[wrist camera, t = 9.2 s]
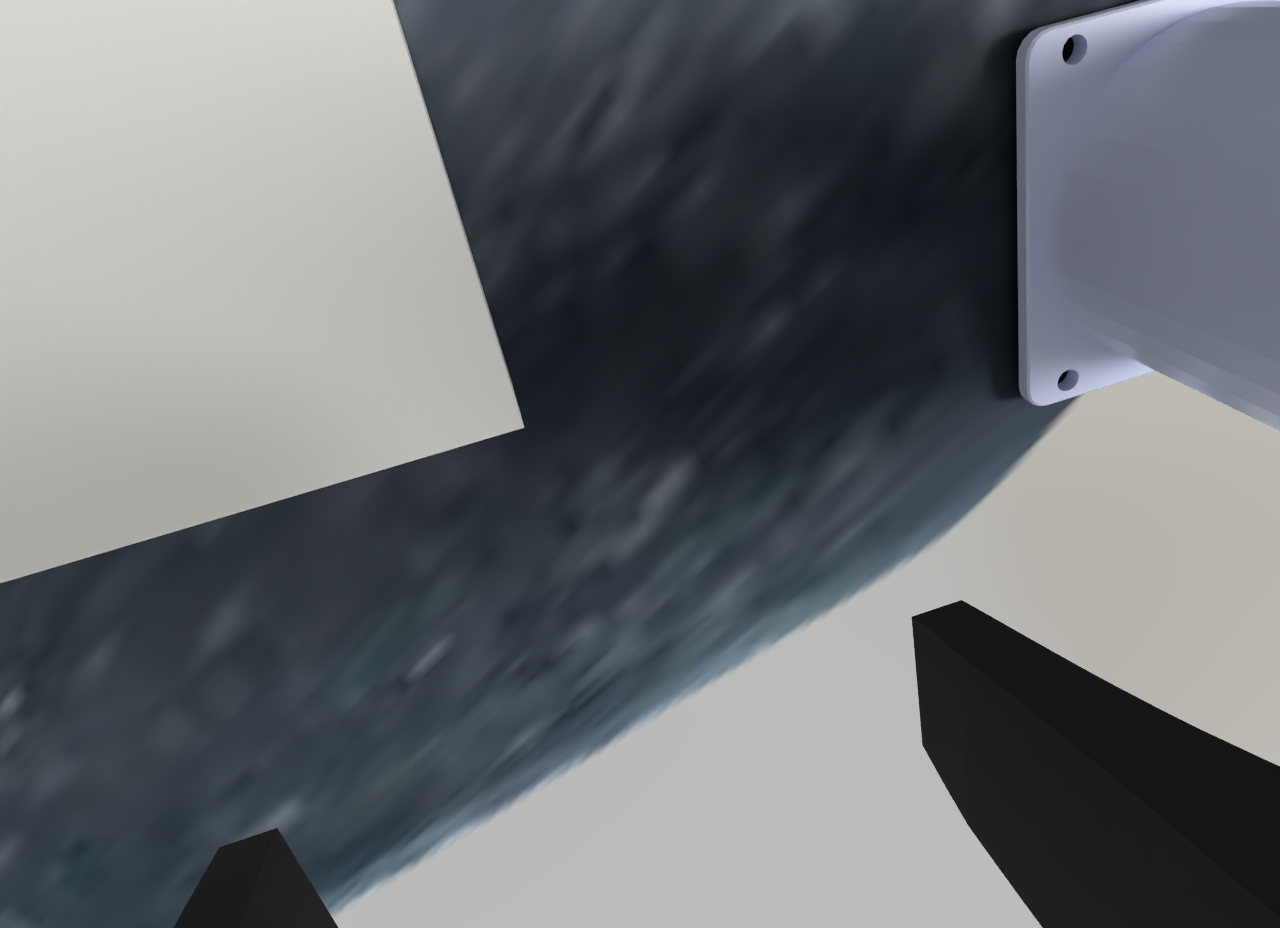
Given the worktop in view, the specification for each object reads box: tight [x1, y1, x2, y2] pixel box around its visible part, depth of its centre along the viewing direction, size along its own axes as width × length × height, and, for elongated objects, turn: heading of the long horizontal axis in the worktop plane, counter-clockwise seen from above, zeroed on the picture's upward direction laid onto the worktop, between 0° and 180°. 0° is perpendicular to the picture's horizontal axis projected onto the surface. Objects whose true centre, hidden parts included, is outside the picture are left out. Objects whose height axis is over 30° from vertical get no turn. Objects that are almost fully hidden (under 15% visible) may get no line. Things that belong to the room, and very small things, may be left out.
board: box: [0, 0, 524, 583], centre depth 14 cm, size 10×10×2 cm
